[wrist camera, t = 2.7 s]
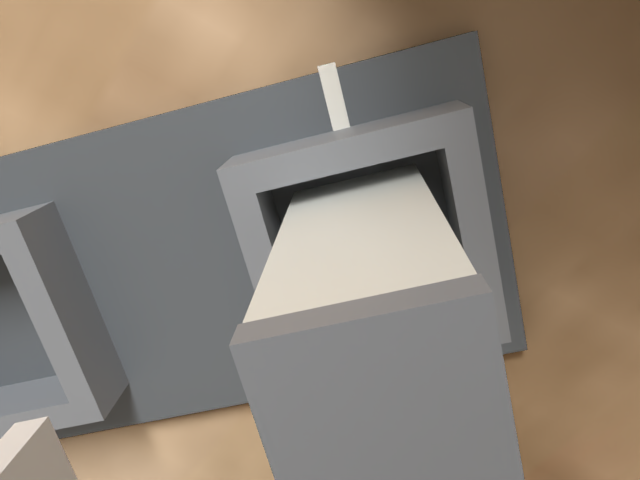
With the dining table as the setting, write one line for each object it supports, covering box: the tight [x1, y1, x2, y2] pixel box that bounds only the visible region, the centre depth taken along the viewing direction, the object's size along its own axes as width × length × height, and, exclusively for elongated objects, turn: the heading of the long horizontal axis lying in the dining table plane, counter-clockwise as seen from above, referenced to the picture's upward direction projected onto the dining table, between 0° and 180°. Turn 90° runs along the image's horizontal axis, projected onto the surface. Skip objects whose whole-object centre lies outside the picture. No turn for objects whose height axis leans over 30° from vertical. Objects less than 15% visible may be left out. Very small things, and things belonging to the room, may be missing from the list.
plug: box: [229, 164, 524, 480], centre depth 15 cm, size 6×4×11 cm
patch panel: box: [0, 31, 527, 439], centre depth 20 cm, size 12×25×3 cm, turn 104°
